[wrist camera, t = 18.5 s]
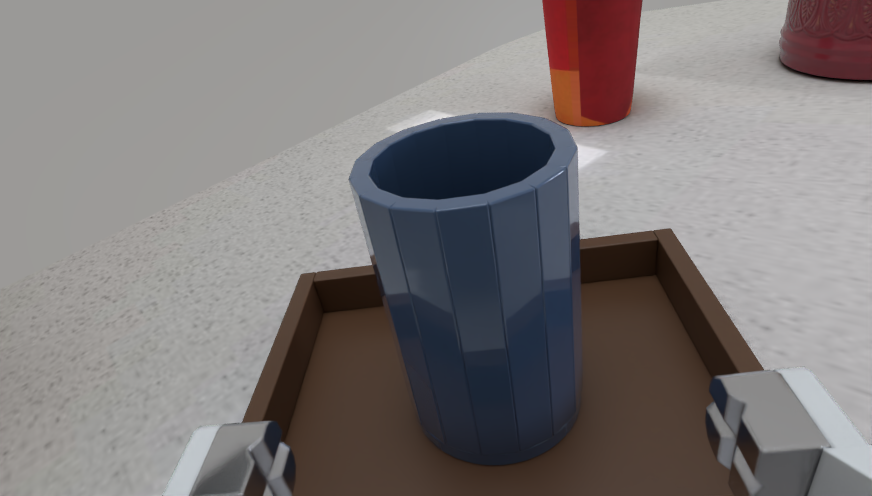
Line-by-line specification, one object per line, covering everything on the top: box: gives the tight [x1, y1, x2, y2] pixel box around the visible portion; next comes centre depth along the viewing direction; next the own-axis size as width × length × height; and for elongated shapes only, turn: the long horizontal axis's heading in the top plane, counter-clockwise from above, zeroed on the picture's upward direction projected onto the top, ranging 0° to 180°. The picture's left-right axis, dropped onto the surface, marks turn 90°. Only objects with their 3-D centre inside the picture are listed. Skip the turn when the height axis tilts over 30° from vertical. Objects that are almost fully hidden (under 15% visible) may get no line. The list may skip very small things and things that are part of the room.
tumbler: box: [349, 113, 583, 466], centre depth 18 cm, size 6×6×10 cm
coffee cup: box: [543, 0, 642, 126], centre depth 40 cm, size 8×8×15 cm
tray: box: [242, 228, 764, 496], centre depth 20 cm, size 18×14×2 cm
